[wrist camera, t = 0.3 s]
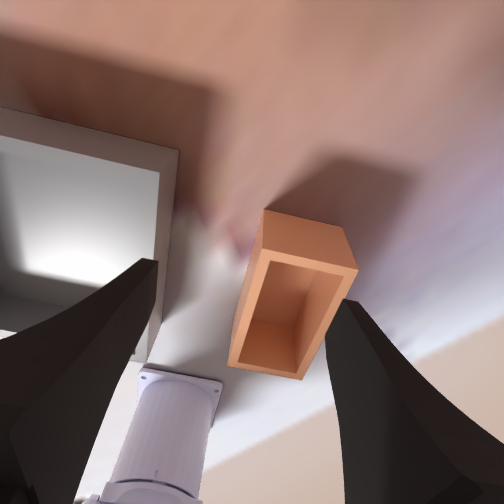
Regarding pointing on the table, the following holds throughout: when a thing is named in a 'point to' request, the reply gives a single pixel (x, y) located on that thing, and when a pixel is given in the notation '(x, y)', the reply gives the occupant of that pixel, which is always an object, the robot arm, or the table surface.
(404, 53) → the table surface
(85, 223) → the big crate
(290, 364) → the box
